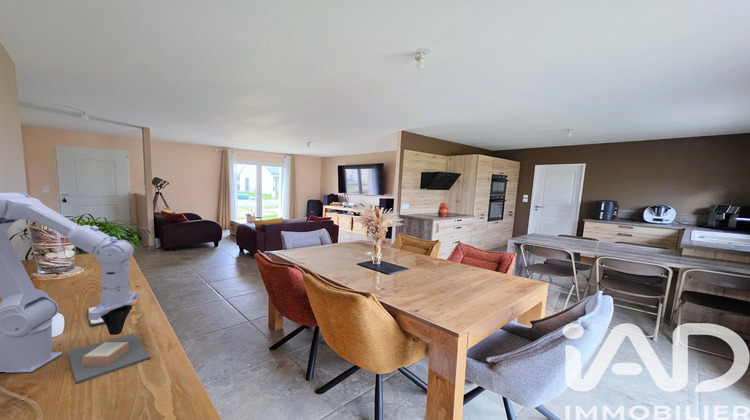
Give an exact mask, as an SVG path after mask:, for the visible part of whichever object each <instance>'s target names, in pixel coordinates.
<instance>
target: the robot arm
mask: <svg viewBox="0 0 750 420" xmlns="http://www.w3.org/2000/svg"><path fill="white" fill-rule="evenodd" d="M19 220H29V221H32V222H34V223H37V224H39V225H42V226H43V227H45V228H48V229H51V230H52V231H54V232H57V233H59V234H61V235H64V236H66V237H67V243H69V244H71V245H72V246H74V247H77V248H79V249H80V250H82V251H84V252H86V253H89V254H90V255H93V256H95V258H96V261H97V262H98V264H100V266H101V289H100V290H101V293H100V294H101V295H100V296H101V297H100V298H101V299H100V300H101V302H100V303H99V304H98V305H97V307H96V306H95V307H96V308H95V309H94V310H92V311H91V312H89V320H98V319H100V317H101V318H102V320H103V321H104V322H105V324H104V325H105V326H106V327H107V328H106V329H107V330H108V333H109V335H110V336H118V335H119V334H122V332H123V328H124V325H125V323H126V320H127V318H128V316H129V314H130V312H131V311H132V309H133V305H132V304H134V303H135V300H137V299H139V291H131V290H130V287H131V279H130V278H131V268H130V266H131V259H130V258H131V257H132V256H133V254H134V253H135V248H134V246H133V244H132V243H131V242H129V241H128V240H126V239H118V238H117V237H116V236H111V235H109V234H106V233H105V232H103V231H101V230H99V229H100V227H99V226H97V225H92V226H91V225H89V224H86V225H85V224H84V225H79V224H77V223H76V222H74V221H72V220H70V219H69V218H67V217H65V216H64V215H62V214H60V213H58V212H57V211H55V210H53V209H52V208H50V207H48V206H46V205H45V204H44V203H43V202H41V201H40V200H39V199H38V198H35V197H31V196H30V195H29V194H28V193H25V192H20V191H10V192H0V299H1V301H0V372H5V373H33V372H34V371H36V370H38V369H39V368H41V367H43V366H44V365H46V364H48V363H49V362H51V361H53V360H54V359H56V358H58V357H59V356H61V355H63V352H62V351H53V349H52V348H53V347H52V346H53V344H52V343H53V341H52V339H53V337H52V336H53V335H52V333H53V332H52V331H53V328H52V326H53V325H52V322H53V318H54V317H55V316H56V315H57V314H58V312H59V304H58V303H57V301H56V300H54V299H52V298H51V297H50V296H49V295H48V293H47V292H46V291H45V290H41V289H38V288H36V287H35V285H34V284H33V281H32V280H31V277H30V276H29V274H28V272H27V270H26V268H25V266H24V264H23V263H22V261H21V258H20V257H19V255H18V253H17V251H16V250H15V247H14V246H13V243H12V242H11V240H10V238H9V236H8V234H7V232H8V230H9V229H10V228H11V227H12V226H13V225H14V224H15V223H16V222H18V221H19Z"/></svg>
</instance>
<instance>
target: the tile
mask: <svg viewBox="0 0 750 420" xmlns="http://www.w3.org/2000/svg"><path fill="white" fill-rule="evenodd" d="M128 350H129V342H105V343H103V344H102V345H100V346H98V347H97V348H95V349H94V350H92V351H91V352H89V353H88V354H86V355H84V356H83V357H82V366H109V365H110V364H111V363H113V362H114V361H115V360H117V359H118V358H119V357H121V356H122V355H123V354H124V353H126V352H127V351H128Z"/></svg>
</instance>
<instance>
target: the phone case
mask: <svg viewBox="0 0 750 420" xmlns="http://www.w3.org/2000/svg"><path fill="white" fill-rule="evenodd" d="M97 306H98V305H97ZM97 306H93V307H89V308H87V309H86V316H87V320H88V326H89V327H90V328H91V327H92V328H93V327H94V328H95V327H98V326H102V325H103V326H104V325H106V324H105V322H104V321H103V320H102V318H101V317H100V319H98V320H89V312H91V311H92V310H94V309H95V308H96V307H97Z"/></svg>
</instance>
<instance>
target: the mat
mask: <svg viewBox="0 0 750 420" xmlns="http://www.w3.org/2000/svg"><path fill="white" fill-rule="evenodd" d="M105 342H129V350H128V351H127V352H126V353H124V354H123V355H122V356H121V357H119V358H118V359H117V360H115V361H114V362H113V363H111V364H110V365H109V366H82V357H83V356H84V355H86V354H88V353H89V352H91V351H92V350H94V349H95V348H97V347H98V346H100V345H102V344H103V343H105ZM67 356H68V359H69V364H70V367H71V371H72V373H73V378H74V382H75V385H77V384H81V383H83V382H87V381H88V380H89V381H90V380H92V379H95V378H97V377H100V376H103V375H106V374H109V373H112V372H116V371H119V370H122V369H124V368H127V367H129V366H133V365H136V364H139V363H142V362H145V361H147V360H150V359H151V356H150V354H149V353H148V351H147V350H146V349H145V346H144V345H143V344H142V343H141V341H140V340H139V338H138V337H137V336H136V334H135V333H133V332H131V333H129V334H125V335H122V336H118V337H114V338H111V339H107V340H104V341H103V340H102V341H100V342H95V343H93V344H89V345H85V346H81V347H78V348H74V349H71V350H67ZM80 382H81V383H80Z"/></svg>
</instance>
